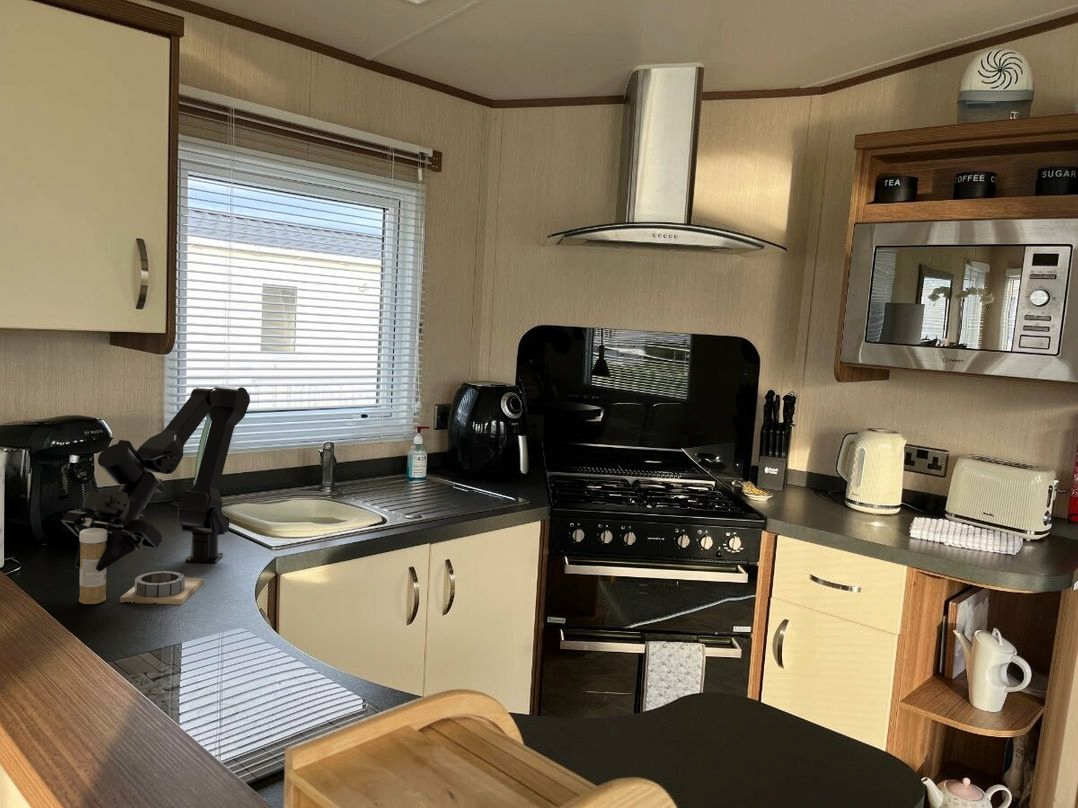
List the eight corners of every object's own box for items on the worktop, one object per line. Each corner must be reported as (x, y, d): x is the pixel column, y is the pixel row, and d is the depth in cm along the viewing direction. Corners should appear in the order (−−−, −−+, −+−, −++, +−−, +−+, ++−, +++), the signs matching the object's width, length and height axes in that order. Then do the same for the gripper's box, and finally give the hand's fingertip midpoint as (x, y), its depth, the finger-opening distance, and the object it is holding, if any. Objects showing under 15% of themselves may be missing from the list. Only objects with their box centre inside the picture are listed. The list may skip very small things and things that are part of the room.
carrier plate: (147, 581, 171) (147, 571, 171) (203, 583, 172) (203, 573, 171) (120, 602, 158) (120, 591, 158) (181, 604, 159) (181, 594, 159)
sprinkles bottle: (85, 596, 160) (86, 526, 158) (110, 597, 160) (111, 527, 159) (74, 605, 155) (75, 532, 154) (100, 605, 155) (101, 533, 154)
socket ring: (145, 583, 167) (145, 570, 166) (190, 584, 167) (190, 572, 167) (127, 596, 158) (128, 583, 158) (174, 598, 159) (175, 585, 159)
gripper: (69, 468, 162) (19, 538, 152) (152, 479, 157) (106, 552, 147) (100, 501, 170) (55, 570, 160) (180, 512, 165) (138, 583, 155)
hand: (87, 568), depth 156 cm, fingers closed on sprinkles bottle, 4 cm apart
